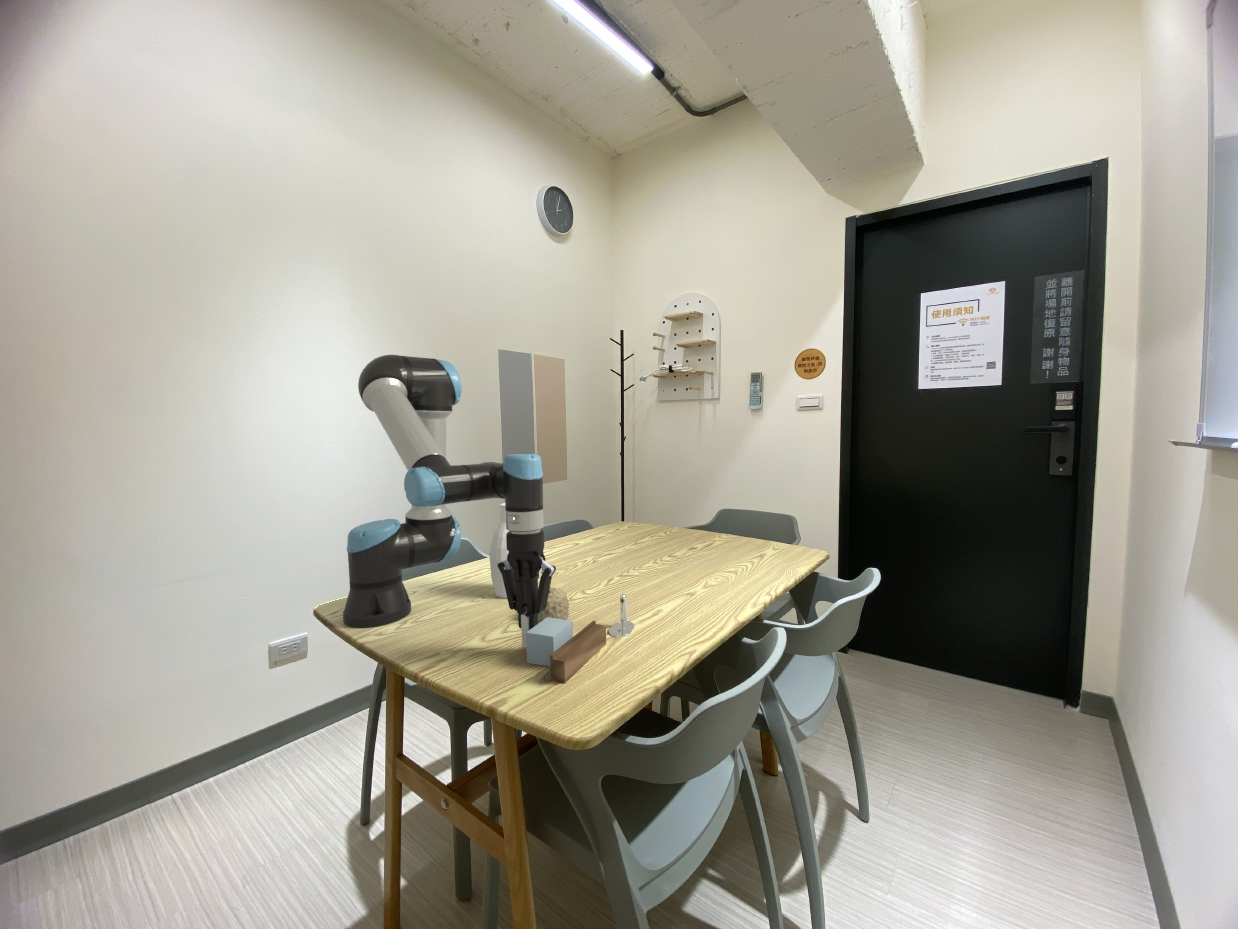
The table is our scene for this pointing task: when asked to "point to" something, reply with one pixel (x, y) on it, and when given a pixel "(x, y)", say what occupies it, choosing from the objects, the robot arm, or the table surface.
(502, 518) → the bottle
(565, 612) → the sponge
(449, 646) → the table surface
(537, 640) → the block
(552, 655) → the brown wooden bar
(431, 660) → the table surface
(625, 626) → the metal post stand
